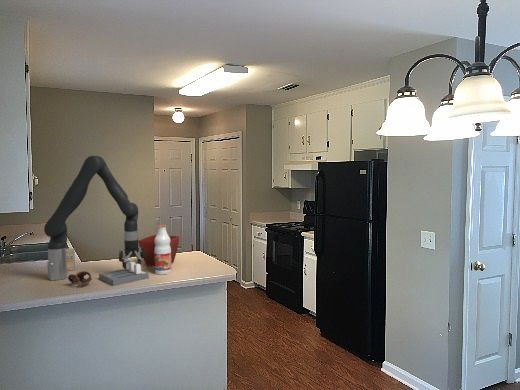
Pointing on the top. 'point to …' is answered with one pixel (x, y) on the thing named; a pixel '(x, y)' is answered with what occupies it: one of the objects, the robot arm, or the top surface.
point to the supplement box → (70, 258)
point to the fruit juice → (162, 251)
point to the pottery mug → (80, 278)
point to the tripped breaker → (131, 266)
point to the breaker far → (127, 265)
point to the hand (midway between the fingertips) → (132, 267)
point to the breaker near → (137, 268)
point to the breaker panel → (122, 276)
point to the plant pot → (150, 246)
